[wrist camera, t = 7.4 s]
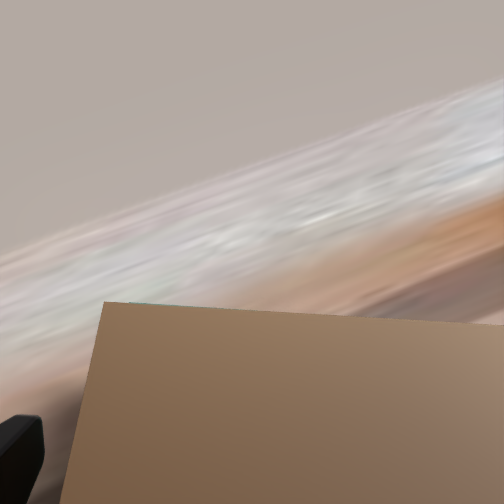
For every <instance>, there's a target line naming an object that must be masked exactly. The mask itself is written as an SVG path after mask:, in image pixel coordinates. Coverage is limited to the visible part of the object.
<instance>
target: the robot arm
mask: <svg viewBox="0 0 504 504" xmlns="http://www.w3.org/2000/svg"><path fill="white" fill-rule="evenodd" d="M44 455H45V449H44V437H43V425H42V420H41V418H40V417H39V416H37V415H24V414H19V415H15V416H13V417H11V418H9V419H7V420H6V421H4V422H2V423H1V424H0V504H26V503H27V501H28V498H29V496H30V493H31V491H32V489H33V486H34V484H35V481H36V479H37V477H38V474H39V472H40V469H41V467H42V464H43V461H44Z"/></svg>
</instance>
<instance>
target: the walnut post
mask: <svg viewBox="0 0 504 504" xmlns="http://www.w3.org/2000/svg"><path fill="white" fill-rule="evenodd" d="M59 504H504V325H489V324H472V323H455V322H438V321H421V320H405V319H388V318H371V317H354V316H337V315H320V314H303V313H287V312H270V311H253V310H236V309H219V308H202V307H185V306H168V305H152V304H135V303H118V302H104V304H103V309H102V313H101V318H100V322H99V327H98V331H97V336H96V340H95V345H94V349H93V354H92V358H91V363H90V367H89V372H88V376H87V381H86V385H85V390H84V394H83V399H82V403H81V408H80V412H79V417H78V421H77V426H76V430H75V435H74V439H73V444H72V448H71V453H70V457H69V462H68V466H67V471H66V475H65V480H64V484H63V489H62V493H61V498H60V502H59Z"/></svg>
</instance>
